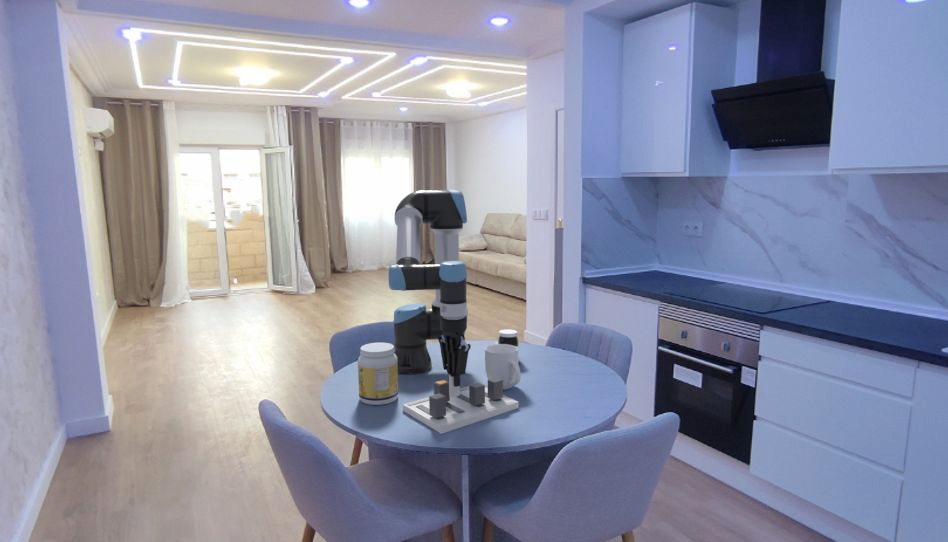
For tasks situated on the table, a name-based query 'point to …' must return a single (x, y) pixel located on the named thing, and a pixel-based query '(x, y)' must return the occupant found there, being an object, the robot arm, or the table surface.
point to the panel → (459, 411)
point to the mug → (503, 364)
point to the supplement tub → (378, 374)
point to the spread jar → (508, 337)
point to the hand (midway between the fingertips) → (454, 395)
